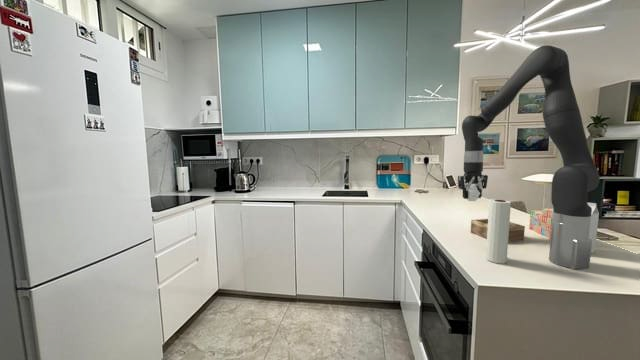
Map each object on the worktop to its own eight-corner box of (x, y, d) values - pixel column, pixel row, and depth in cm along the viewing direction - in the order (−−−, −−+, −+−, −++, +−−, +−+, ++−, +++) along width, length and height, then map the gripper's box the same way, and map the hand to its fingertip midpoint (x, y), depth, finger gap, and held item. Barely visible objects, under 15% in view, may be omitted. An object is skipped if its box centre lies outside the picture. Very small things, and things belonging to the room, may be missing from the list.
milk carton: (586, 256, 96) (592, 204, 94) (561, 249, 102) (566, 201, 100) (594, 252, 99) (600, 202, 97) (570, 246, 105) (575, 199, 103)
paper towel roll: (507, 265, 88) (511, 202, 86) (485, 261, 92) (489, 201, 89) (505, 258, 95) (510, 199, 92) (485, 254, 98) (489, 197, 95)
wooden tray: (523, 240, 113) (524, 226, 112) (496, 243, 110) (497, 228, 109) (495, 231, 127) (496, 218, 126) (470, 233, 124) (471, 219, 123)
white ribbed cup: (482, 200, 119) (483, 185, 118) (475, 202, 116) (475, 186, 115) (468, 199, 124) (469, 184, 123) (461, 200, 121) (461, 185, 120)
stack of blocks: (528, 228, 129) (530, 204, 128) (543, 229, 128) (545, 204, 127) (558, 244, 108) (561, 214, 107) (576, 244, 107) (579, 215, 106)
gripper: (465, 161, 113) (464, 200, 115) (494, 161, 116) (492, 198, 117) (453, 161, 120) (452, 197, 122) (480, 160, 123) (479, 196, 125)
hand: (472, 198), depth 120 cm, fingers closed on white ribbed cup, 6 cm apart
